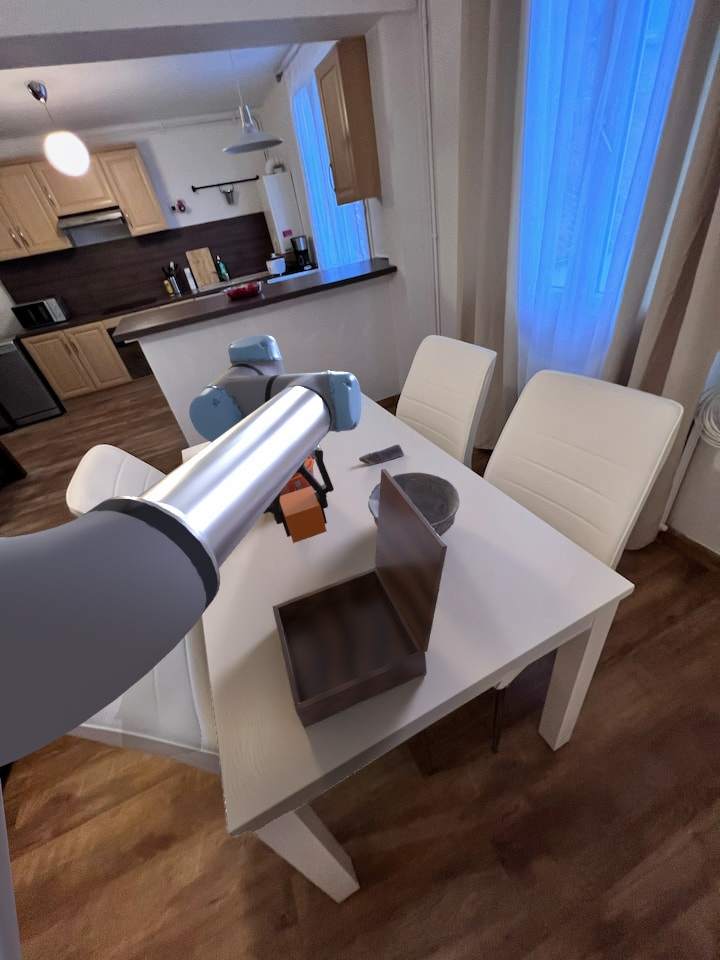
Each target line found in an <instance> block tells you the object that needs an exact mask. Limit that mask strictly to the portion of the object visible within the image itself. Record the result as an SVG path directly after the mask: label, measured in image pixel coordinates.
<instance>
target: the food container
mask: <svg viewBox="0 0 720 960" xmlns="http://www.w3.org/2000/svg"><path fill="white" fill-rule="evenodd" d="M304 465H305V466H306V468H307V469H308V470H309V471H310V473H311V474H312V475H313V476H314V477H315V475H314V474H315V473H314V465H315V459H312V457H311V455H309V456H308V458H307V459H306V461H305V463H304ZM310 486H311V485H310V484H309V483H308V481H307V480H306V479H305V478H304V477H303V476H302V475H301V474H300V473H296V474H294V475H293V476H292V478H291V479H290V480H289V481H288V483H287V484H286V485H285V486H284V488H283V489H282V490H281V494H280V496H282V495H285V494H288V493H292V492H295V491H298V490H301V489H304V488H307V487H310ZM311 487H312V486H311ZM312 489H313V491H314V492H316V491H315V490H314V488H313V487H312ZM279 504H280V502H279Z"/></svg>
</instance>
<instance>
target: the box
mask: <svg viewBox="0 0 720 960" xmlns="http://www.w3.org/2000/svg"><path fill="white" fill-rule="evenodd" d="M271 607H272V611H273V616H274V620H275V624H276V629H277V634H278V638H279V642H280V643H279V644H280V646H281V647H280V648H281V651H282V657H283V660H284V666H285V669H286V674H287V678H288V683H289V687H290V691H291V696H292V702H293V706H294V710H295V713H296V715H297V717H298V719H299V721H300V723H301V725H302V727H303V728H304V729H306V728H308V727H310V726H312V725H315V724H317V723H319V722H322V721H323V720H326V719H328V718H330V717H332V716H334V715H336V714H339V713H341V712H343V711H346V710H347V709H350V708H352V707H355V706H357V705H360V704H362V703H363V702H367V701H368V700H370V699H372V698H374V697H376V696H378V695H382V694H383V693H385V692H387V691H390V690H392V689H394V688H397V687H398V686H401V685H403V684H406V683H407V682H410V681H413V680H414V679H416V678H418V677H421V676H423V675H425V674H427V673H428V672H427V671H428V670H427V659H426V652H424V653H423V652H422V650H421V648H420V646H419V644H418V643H417V641H416V639H415V637H414V635H413V633H412V632H411V630H410V628H409V626H408V624H407V622H406V621H405V619H404V617H403V615H402V613H401V611H400V610H399V608H398V606H397V604H396V602H395V600H394V599H393V597H392V595H391V593H390V591H389V589H388V588H387V586H386V584H385V582H384V580H383V578H382V577H381V575H380V573H379V571H378V569H377V568H376V566H374V567H372V568H369V569H367V570H363V571H361V572H359V573H355V574H353V575H351V576H348V577H346V578H343V579H340V580H338V581H335V582H332V583H330V584H327V585H324V586H322V587H319V588H317V589H315V590H312V591H309V592H306V593H304V594H301V595H298V596H295V597H293V598H290V599H288V600H285V601H282V602H280V603H278V604H275V605H272V606H271Z"/></svg>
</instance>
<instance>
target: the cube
mask: <svg viewBox="0 0 720 960" xmlns="http://www.w3.org/2000/svg"><path fill="white" fill-rule="evenodd" d="M280 504H281V507H282V510H283V514H284V517H285V520H286V523H287V526H288V529H289V532H290V535H291V536H290V537H291V541H292V543H293V544H295V543H298V542H301V541H303V540H306V539H309V538H312V537H315V536H318V535H322V534H324V533H326V532H327V527H326V524H325V523H324V519H323V515H322V511H321V507H320V504H319V502H318V500H317V498H316V496H315V493H314V491H313V489H312V487H311V486H310V487H307V488H304V489H301V490H298V491H295V492H292V493H288V494H285V495H282V496H280Z"/></svg>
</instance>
